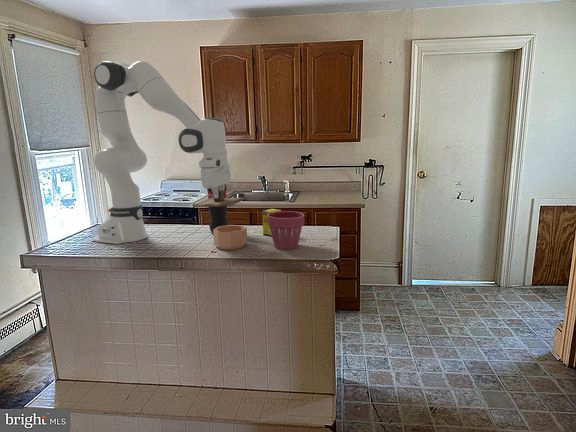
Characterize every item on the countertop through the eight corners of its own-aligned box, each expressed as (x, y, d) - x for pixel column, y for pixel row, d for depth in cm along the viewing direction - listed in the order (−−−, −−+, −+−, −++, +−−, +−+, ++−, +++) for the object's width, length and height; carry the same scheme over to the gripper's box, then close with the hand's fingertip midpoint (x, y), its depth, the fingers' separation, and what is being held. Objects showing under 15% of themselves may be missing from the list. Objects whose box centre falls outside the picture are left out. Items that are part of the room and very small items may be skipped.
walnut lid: (193, 206, 145) (191, 194, 144) (209, 200, 159) (208, 188, 159) (230, 206, 142) (229, 193, 141) (244, 199, 156) (243, 187, 155)
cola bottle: (213, 230, 180) (209, 165, 174) (231, 230, 179) (227, 164, 173) (207, 234, 172) (202, 166, 166) (225, 234, 171) (221, 166, 165)
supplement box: (272, 237, 165) (272, 212, 163) (262, 235, 169) (261, 210, 167) (282, 234, 169) (281, 209, 167) (272, 232, 173) (271, 208, 171)
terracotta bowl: (210, 249, 149) (209, 231, 148) (222, 241, 160) (221, 224, 159) (240, 250, 146) (239, 232, 145) (250, 242, 158) (249, 225, 156)
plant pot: (311, 244, 153) (310, 212, 150) (293, 253, 141) (292, 219, 139) (280, 240, 160) (279, 209, 158) (260, 248, 148) (259, 216, 146)
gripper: (218, 159, 158) (221, 193, 161) (196, 163, 139) (200, 201, 141) (233, 159, 157) (236, 193, 159) (213, 162, 137) (216, 201, 140)
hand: (219, 197), depth 150 cm, fingers closed on walnut lid, 3 cm apart
